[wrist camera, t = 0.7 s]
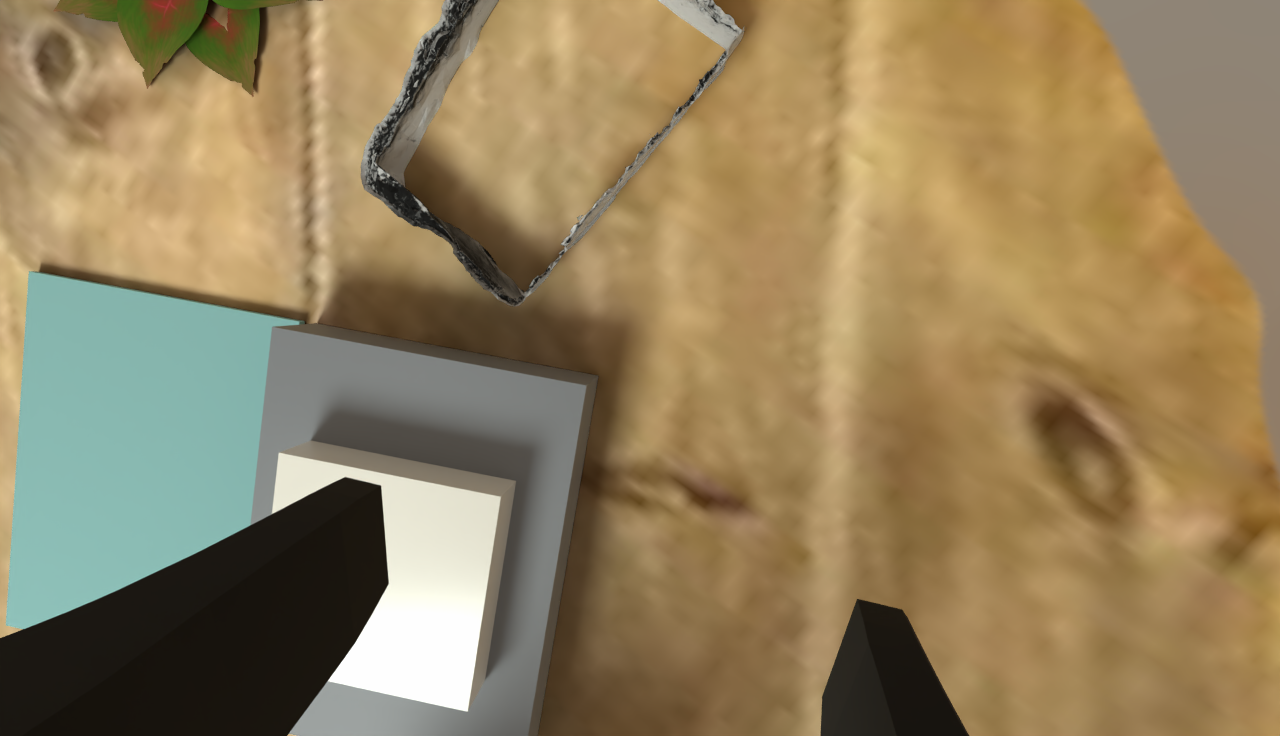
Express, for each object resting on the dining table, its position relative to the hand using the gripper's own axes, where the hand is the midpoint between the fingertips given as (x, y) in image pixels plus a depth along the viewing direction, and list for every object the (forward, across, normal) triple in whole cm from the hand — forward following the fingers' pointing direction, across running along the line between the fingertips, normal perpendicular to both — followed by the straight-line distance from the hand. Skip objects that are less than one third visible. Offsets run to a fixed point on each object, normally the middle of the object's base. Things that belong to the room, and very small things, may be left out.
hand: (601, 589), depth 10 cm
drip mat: (+12, +22, +13) cm, 29 cm away
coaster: (+10, +10, +12) cm, 19 cm away
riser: (+13, +10, +13) cm, 21 cm away
